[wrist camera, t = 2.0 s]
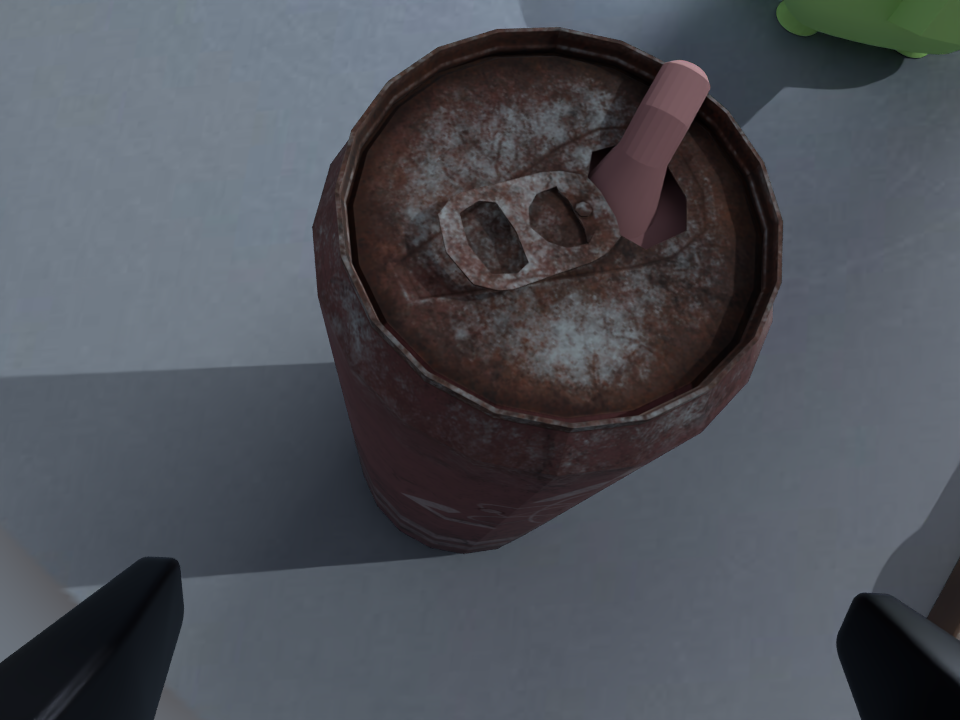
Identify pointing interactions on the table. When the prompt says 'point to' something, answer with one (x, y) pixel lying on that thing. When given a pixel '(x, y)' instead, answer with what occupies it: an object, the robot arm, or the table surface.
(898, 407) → the table surface
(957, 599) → the stand
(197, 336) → the table surface
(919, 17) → the teapot
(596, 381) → the can
